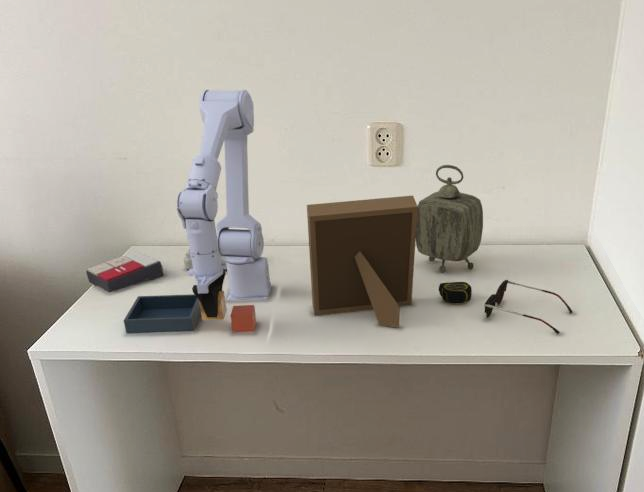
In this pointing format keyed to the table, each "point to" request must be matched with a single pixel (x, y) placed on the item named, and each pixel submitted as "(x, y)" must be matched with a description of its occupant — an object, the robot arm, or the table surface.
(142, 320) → the bin
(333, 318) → the table surface
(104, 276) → the red and grey box
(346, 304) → the photo frame
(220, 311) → the maple block
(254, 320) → the terracotta block
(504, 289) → the sunglasses
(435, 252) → the tabletop clock
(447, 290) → the tape measure
